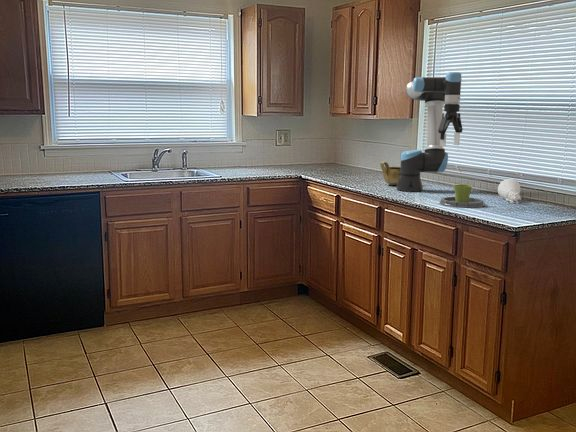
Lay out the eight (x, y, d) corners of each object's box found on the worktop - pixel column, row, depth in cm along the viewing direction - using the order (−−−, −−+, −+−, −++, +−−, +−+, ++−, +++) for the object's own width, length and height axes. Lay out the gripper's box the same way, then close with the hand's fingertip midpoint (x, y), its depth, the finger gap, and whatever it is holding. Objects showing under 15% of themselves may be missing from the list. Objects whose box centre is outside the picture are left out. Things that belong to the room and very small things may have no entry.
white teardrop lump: (519, 186, 298) (512, 174, 314) (499, 199, 302) (493, 187, 318) (532, 202, 300) (524, 190, 317) (512, 215, 304) (505, 202, 321)
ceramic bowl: (388, 187, 357) (389, 163, 354) (373, 184, 372) (374, 160, 369) (418, 186, 366) (419, 162, 363) (402, 182, 381) (403, 159, 378)
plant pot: (449, 202, 298) (450, 185, 296) (456, 200, 305) (457, 183, 304) (467, 204, 292) (468, 187, 291) (474, 202, 300) (475, 185, 298)
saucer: (431, 203, 299) (431, 199, 298) (453, 199, 314) (453, 195, 314) (471, 209, 284) (471, 204, 283) (492, 204, 299) (492, 199, 298)
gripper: (445, 103, 289) (443, 147, 293) (471, 103, 306) (468, 145, 310) (432, 103, 294) (430, 146, 298) (457, 103, 311) (455, 144, 315)
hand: (449, 145), depth 304 cm, fingers open, 13 cm apart
